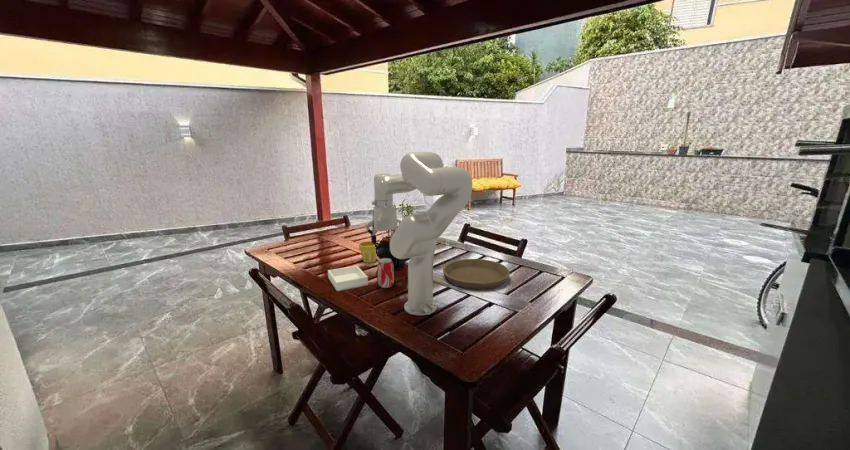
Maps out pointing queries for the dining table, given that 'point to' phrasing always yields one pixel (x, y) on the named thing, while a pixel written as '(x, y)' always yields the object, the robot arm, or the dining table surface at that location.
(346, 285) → the tray
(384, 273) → the soda can
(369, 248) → the plant pot
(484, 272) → the plant saucer
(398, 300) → the dining table surface
